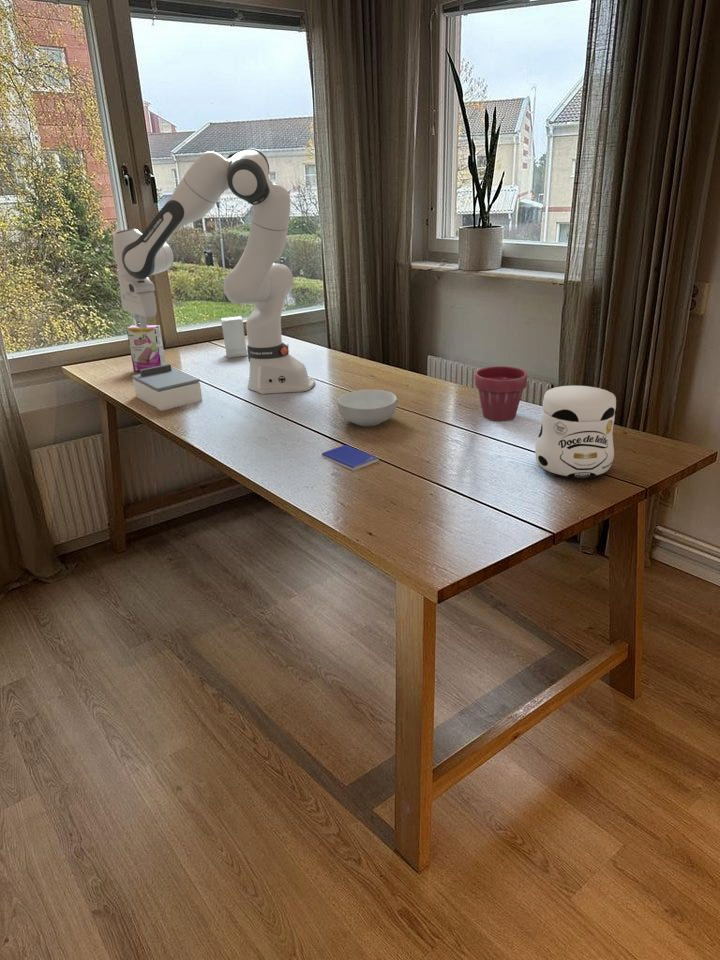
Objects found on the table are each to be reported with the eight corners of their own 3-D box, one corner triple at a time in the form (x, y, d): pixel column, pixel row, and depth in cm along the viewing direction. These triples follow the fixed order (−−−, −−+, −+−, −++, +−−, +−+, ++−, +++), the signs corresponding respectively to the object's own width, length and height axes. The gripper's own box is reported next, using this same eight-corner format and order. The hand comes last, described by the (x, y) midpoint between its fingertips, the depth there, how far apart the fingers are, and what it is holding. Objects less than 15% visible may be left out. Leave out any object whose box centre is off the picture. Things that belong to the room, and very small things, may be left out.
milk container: (579, 492, 146) (588, 413, 138) (518, 467, 159) (523, 394, 151) (627, 471, 155) (638, 396, 147) (565, 449, 168) (572, 379, 160)
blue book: (378, 457, 165) (346, 444, 173) (353, 466, 160) (321, 452, 169) (378, 463, 165) (346, 449, 174) (353, 472, 161) (321, 458, 169)
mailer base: (135, 396, 221) (132, 378, 219) (175, 387, 229) (172, 370, 226) (161, 410, 207) (157, 392, 204) (202, 400, 214) (199, 382, 212)
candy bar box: (133, 372, 249) (125, 328, 242) (138, 368, 254) (131, 325, 247) (162, 372, 248) (155, 327, 241) (167, 368, 252) (160, 324, 246)
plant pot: (463, 416, 193) (464, 372, 187) (495, 404, 201) (497, 362, 195) (502, 428, 182) (505, 382, 177) (534, 416, 191) (538, 372, 185)
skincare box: (246, 352, 270) (242, 315, 264) (247, 356, 265) (243, 318, 258) (225, 354, 268) (220, 317, 262) (225, 358, 263) (221, 320, 257)
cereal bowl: (330, 417, 196) (329, 393, 193) (383, 408, 201) (383, 386, 198) (350, 436, 181) (349, 411, 178) (406, 426, 187) (406, 402, 184)
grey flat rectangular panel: (132, 378, 218) (130, 369, 217) (172, 369, 226) (171, 361, 225) (157, 391, 204) (156, 382, 203) (199, 381, 212) (198, 372, 211)
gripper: (112, 281, 218) (120, 324, 224) (137, 288, 204) (144, 333, 209) (131, 279, 222) (138, 321, 227) (156, 285, 207) (163, 330, 213)
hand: (141, 327), depth 218 cm, fingers closed
